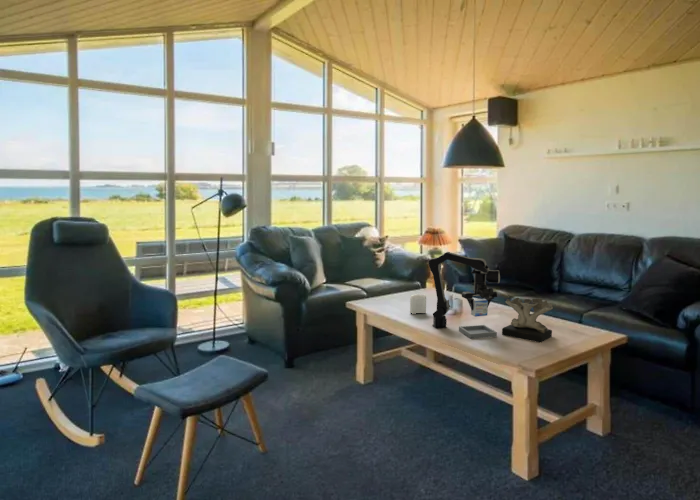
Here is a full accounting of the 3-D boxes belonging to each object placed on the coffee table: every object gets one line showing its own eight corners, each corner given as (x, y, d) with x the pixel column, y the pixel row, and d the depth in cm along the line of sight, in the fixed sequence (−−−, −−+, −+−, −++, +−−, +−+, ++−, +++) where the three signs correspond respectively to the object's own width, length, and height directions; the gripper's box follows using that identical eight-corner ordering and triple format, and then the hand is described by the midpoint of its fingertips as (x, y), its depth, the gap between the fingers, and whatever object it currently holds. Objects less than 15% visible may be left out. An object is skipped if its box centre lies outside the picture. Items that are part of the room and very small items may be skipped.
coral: (558, 338, 268) (560, 298, 265) (541, 347, 254) (542, 304, 251) (514, 329, 286) (515, 291, 283) (495, 337, 271) (496, 297, 269)
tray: (470, 338, 269) (470, 334, 269) (458, 330, 284) (458, 326, 283) (496, 336, 272) (496, 332, 272) (484, 329, 287) (484, 324, 286)
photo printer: (425, 312, 326) (425, 293, 324) (426, 313, 321) (427, 294, 320) (409, 313, 324) (409, 293, 323) (410, 314, 320) (411, 295, 318)
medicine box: (474, 316, 279) (475, 301, 277) (470, 314, 283) (470, 299, 282) (487, 315, 281) (488, 300, 280) (483, 313, 285) (483, 298, 284)
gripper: (470, 285, 270) (469, 314, 272) (502, 283, 273) (502, 312, 275) (461, 281, 280) (461, 309, 282) (493, 280, 284) (492, 307, 286)
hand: (479, 309), depth 281 cm, fingers closed on medicine box, 8 cm apart
